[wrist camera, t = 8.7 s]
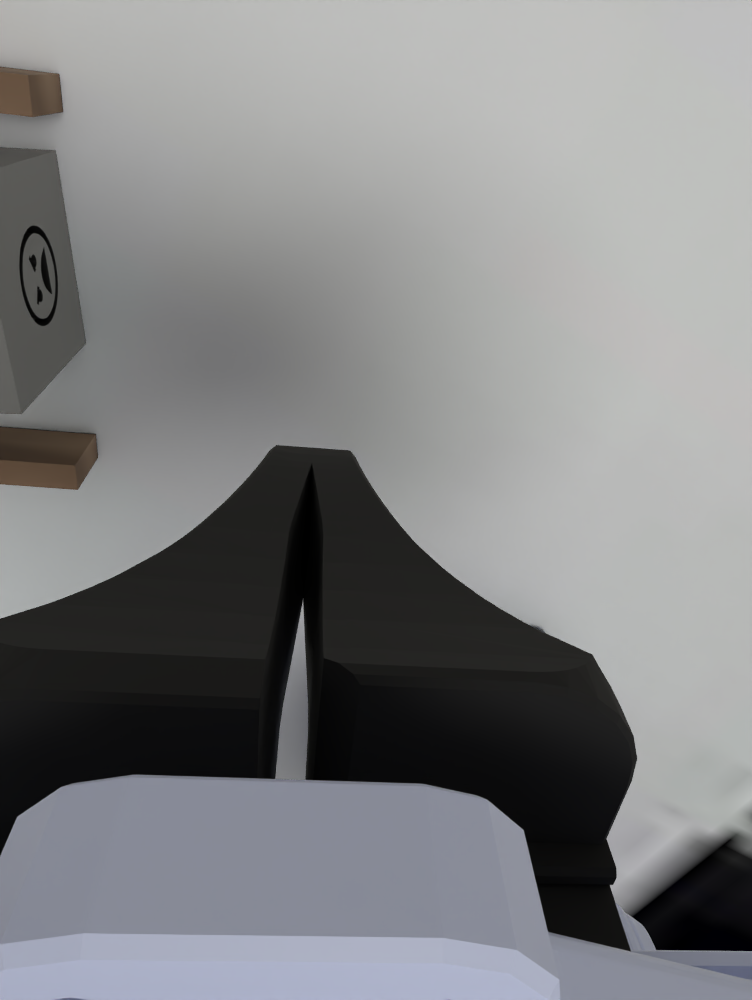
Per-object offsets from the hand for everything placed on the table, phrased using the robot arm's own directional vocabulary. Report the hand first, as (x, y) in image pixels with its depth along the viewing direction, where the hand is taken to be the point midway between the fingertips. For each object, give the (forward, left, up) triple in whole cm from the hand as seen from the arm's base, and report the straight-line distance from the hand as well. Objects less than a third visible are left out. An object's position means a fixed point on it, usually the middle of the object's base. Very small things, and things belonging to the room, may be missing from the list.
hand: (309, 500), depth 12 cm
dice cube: (+1, +9, -10) cm, 14 cm away
